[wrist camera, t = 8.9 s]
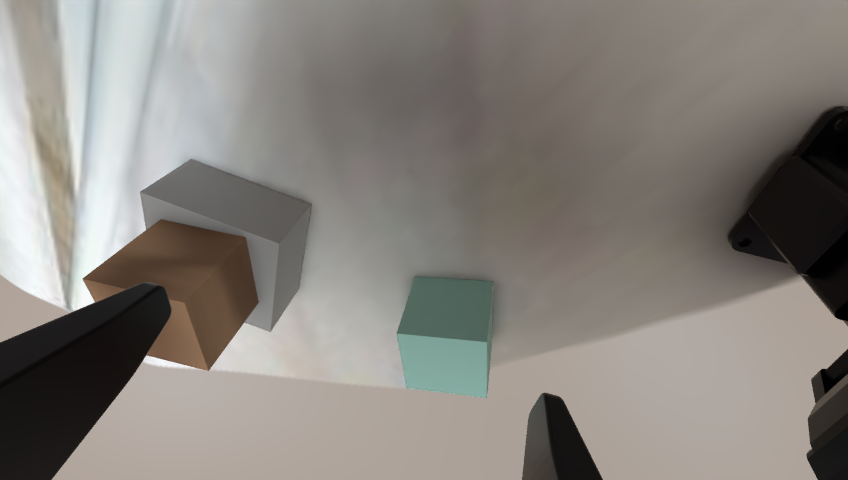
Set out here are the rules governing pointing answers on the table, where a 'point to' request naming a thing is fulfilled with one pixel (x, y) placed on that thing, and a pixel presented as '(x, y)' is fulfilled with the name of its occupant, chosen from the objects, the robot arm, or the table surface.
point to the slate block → (239, 226)
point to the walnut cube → (186, 287)
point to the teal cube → (447, 336)
